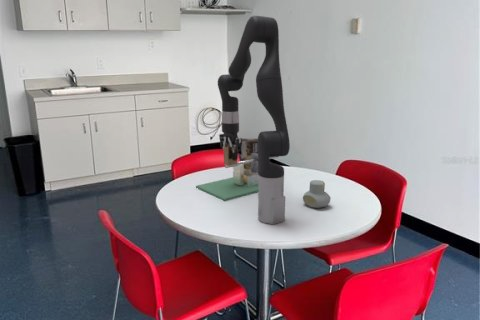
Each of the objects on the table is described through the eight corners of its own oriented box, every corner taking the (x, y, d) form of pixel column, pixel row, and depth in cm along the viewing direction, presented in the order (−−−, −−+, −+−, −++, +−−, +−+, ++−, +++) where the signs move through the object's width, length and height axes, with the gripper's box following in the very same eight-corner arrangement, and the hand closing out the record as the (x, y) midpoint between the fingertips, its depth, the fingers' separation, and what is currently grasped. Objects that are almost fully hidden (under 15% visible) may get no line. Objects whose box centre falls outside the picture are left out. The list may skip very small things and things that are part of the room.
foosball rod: (280, 175, 208) (281, 138, 203) (229, 188, 189) (229, 147, 184) (273, 173, 211) (274, 136, 207) (222, 185, 193) (222, 145, 188)
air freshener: (299, 204, 174) (300, 180, 172) (312, 199, 179) (313, 176, 177) (320, 212, 166) (321, 187, 163) (333, 207, 171) (334, 183, 169)
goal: (259, 184, 196) (259, 174, 194) (248, 187, 192) (248, 176, 190) (243, 178, 204) (243, 168, 203) (233, 181, 200) (233, 171, 199)
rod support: (263, 183, 200) (263, 155, 197) (259, 184, 199) (260, 156, 195) (254, 180, 205) (254, 152, 202) (250, 181, 204) (251, 153, 200)
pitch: (267, 189, 192) (267, 187, 192) (224, 201, 178) (224, 198, 177) (237, 178, 209) (237, 176, 208) (196, 187, 194) (196, 185, 194)
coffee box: (259, 168, 225) (260, 138, 221) (259, 171, 219) (259, 141, 215) (242, 168, 226) (242, 138, 222) (241, 171, 220) (241, 140, 215)
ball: (244, 175, 194) (242, 183, 194) (251, 177, 196) (248, 185, 196) (239, 173, 197) (236, 181, 197) (245, 175, 199) (243, 183, 199)
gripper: (247, 122, 182) (247, 161, 186) (227, 118, 193) (227, 154, 197) (233, 124, 177) (233, 163, 181) (213, 120, 188) (214, 157, 192)
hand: (230, 158), depth 189 cm, fingers open, 5 cm apart
